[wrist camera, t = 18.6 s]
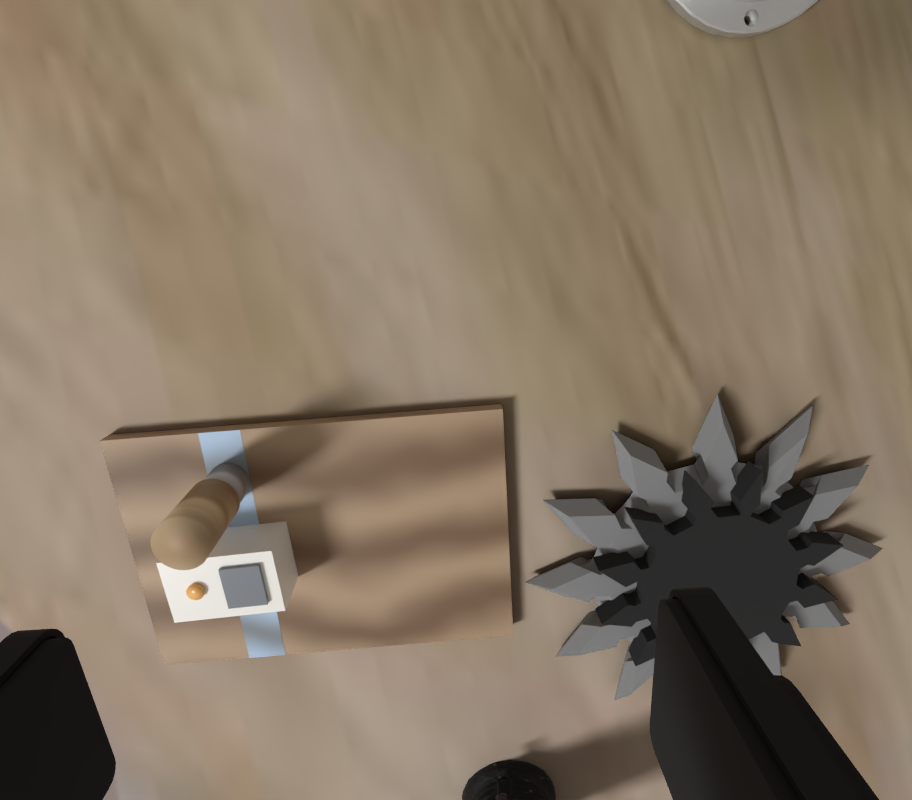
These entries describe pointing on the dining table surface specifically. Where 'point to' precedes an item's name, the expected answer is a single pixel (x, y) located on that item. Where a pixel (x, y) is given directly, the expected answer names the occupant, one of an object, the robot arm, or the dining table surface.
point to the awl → (200, 518)
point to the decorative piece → (708, 545)
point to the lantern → (509, 783)
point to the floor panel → (339, 527)
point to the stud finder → (235, 576)
